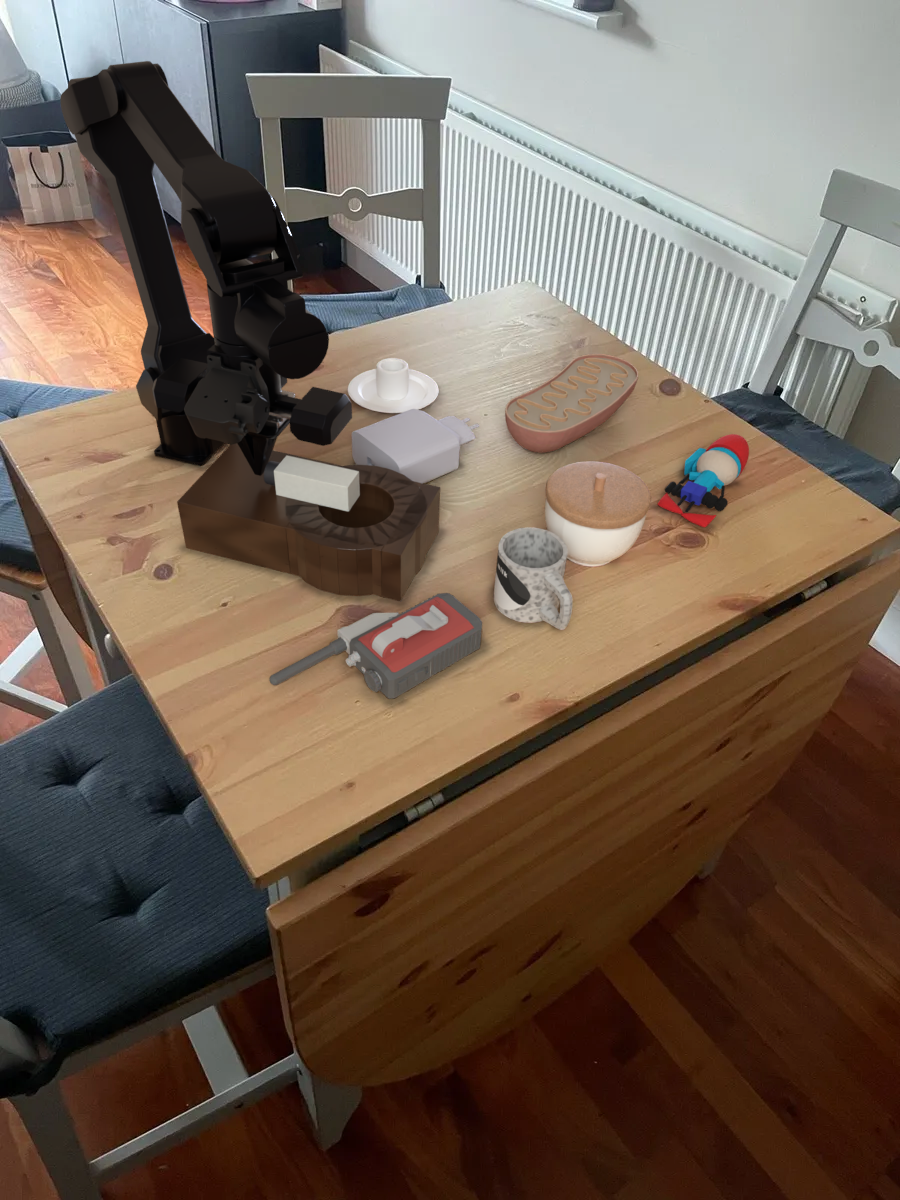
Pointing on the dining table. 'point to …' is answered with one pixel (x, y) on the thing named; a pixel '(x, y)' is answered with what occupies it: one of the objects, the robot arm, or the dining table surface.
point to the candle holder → (393, 388)
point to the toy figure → (708, 477)
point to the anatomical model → (570, 402)
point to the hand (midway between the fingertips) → (260, 473)
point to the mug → (532, 577)
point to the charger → (413, 444)
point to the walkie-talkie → (401, 645)
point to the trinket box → (596, 510)
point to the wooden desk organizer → (315, 527)
